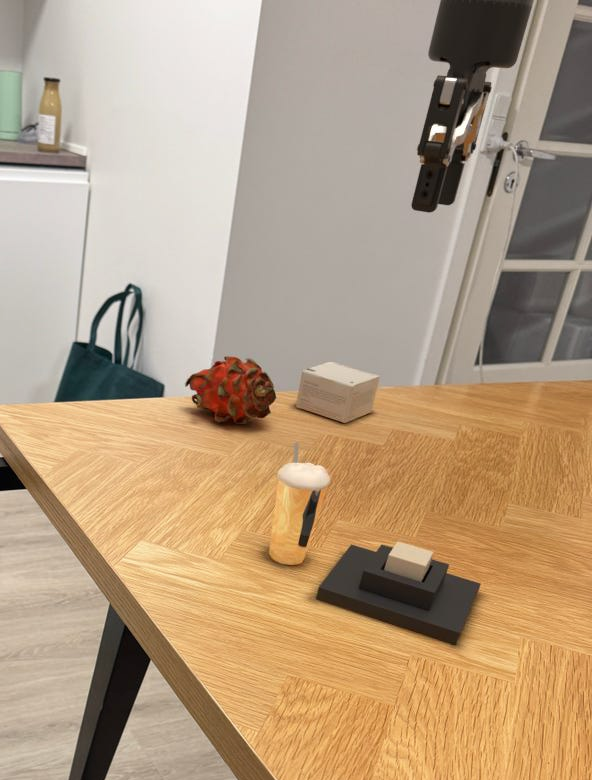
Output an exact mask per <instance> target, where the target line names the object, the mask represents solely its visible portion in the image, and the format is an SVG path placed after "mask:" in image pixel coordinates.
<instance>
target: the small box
mask: <svg viewBox="0 0 592 780" xmlns="http://www.w3.org/2000/svg"><path fill="white" fill-rule="evenodd" d="M300 376H301V377H300V383H299V387H298V392H297V398H296V404H295V407H296V408H297V409H301V410H304V411H307V412H309V413H313V414H316V415H320V416H321V417H325V418H328V419H331V420H334V421H338V422H341V423H343V424H346V423H349V422H351V421H354V420H356V419H359V418H361V417H363V416H365V415H368V414H370V413H372V411H373V408H374V403H375V399H376V394H377V390H378V386H379V383H380V382H379V381H380V377H381V376H380V375H378V374H374V373H370V372H367V371H363V370H361V369H357V368H354V367H350V366H346V365H343V364H339V363H337V362H333V361H328V362H324V363H322V364H321V363H320V364H318V365H316V366H312V367H309V368H305V369H303V370H302V372H301V375H300Z"/></svg>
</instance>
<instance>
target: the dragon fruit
mask: <svg viewBox="0 0 592 780" xmlns="http://www.w3.org/2000/svg"><path fill="white" fill-rule="evenodd" d="M223 359H224V361H223V360H222V361H221V360H217V361H215V362H214V364H213V365H212V366H211V367H210V368H208V369H207V368H206V369H201V370H200V371H198V372H196V373H192V374H191V375H190V376H189V377H188V378H187V379H186V380H185V383H184V384H183V385H184V387H185V388H187V387H188V386H189V389H190V391H194V392H196V393H195V394H192V395H191V401H192V403H193V404H194V405H195V406H196V408H198V409H200V410H205V411H208V412H210V413H211V415H212V416H214V420H215V421H216V422H217V423H218V424H221V423H223V422H228V420H229V419H232V420H233V422H234V423H235V425H247V424H248V423H249V418H250V419H255V418H257V419H266V417H267V416H269V415H270V414H271V413H272V412H271V408H270V406H271V405H272V404H273V403H274V402H275V401H276V399H277V395H276V391H275V389H274V388H275V386H274V383H273V381H272V379H271V377H270V375H269V374H268V373H267V372H266V371H263V369H262V367H261V366H260V365H259V364H258V363H257V362H256V361H255V360H254V359H253V358H249V357H246V358H245V362H243V361H242V360H241V358H239V357H236V356H229V355H226V356H223Z"/></svg>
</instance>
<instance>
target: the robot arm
mask: <svg viewBox="0 0 592 780" xmlns="http://www.w3.org/2000/svg"><path fill="white" fill-rule="evenodd" d="M534 2H535V0H439V5H438V10H437V14H436V18H435V23H434V26H433V30H432V35H431V39H430V43H429V47H428V53H427V56H428V58H429V60H431V61H432V62H437V63H445V64H449V68H448V70H447V73H446V75H440V74H439V75H437V76H436V78H435V80H434V82H433V84H432V85H433V89H432V93H431V95H430V96H431V97H430V99H429V100H430V101H429V105H428V108H427V113H426V117H425V121H424V124H423V128H422V131H421V132H422V133H421V135H420V139H419V143H418V144H417V148H416V151H417V152H416V153H417V156H418V157H419V163H420V167H419V168H420V169H419V171H418V176H417V181H416V184H415V189H414V192H413V196H412V201H411V209H412V210H413V211H416V212H421V213H422V212H423V213H428V214H429V213H434V212H435V211H436V210H437V208H438V207H439V206H438V205H443V206H451V205H453V204H454V203H455V202H456V198H457V194H458V190H459V187H460V183H461V180H462V176H463V173H464V168H465V166H466V163H467V162H468V160H469V159H470V158H471V156H472V155H473V153H474V151H476V148H477V141H478V136H479V133H480V129H481V125H482V122H483V118H484V114H485V111H486V107H487V103H488V99H489V96H490V93H491V92H492V82H491V81H486V78H487V72H488V70H490V69H491V68H497V69H511V68H512V67H514V66H515V65H516V63H517V61H518V58H519V54H520V51H521V47H522V44H523V40H524V36H525V33H526V30H527V26H528V22H529V20H530V16H531V13H532V9H533V5H534Z"/></svg>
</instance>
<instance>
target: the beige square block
mask: <svg viewBox="0 0 592 780" xmlns="http://www.w3.org/2000/svg"><path fill="white" fill-rule="evenodd" d="M392 547H393V549H392V550H391V552H390V554H389V555H388V558H387V562H386V565H385V569H384V571H388V572H391V573H394V574H397V575H401V576H404V577H407V578H410V579H413V580H417V581H420V582H422V580H423V578H424V576H425V574H426V572H427V571H428V569H429V566H430V563H431V559H433V556H434V551H432V550H428V549H427V548H426V549H425V548H422V547H419V546H416V545H412V544H409V543H405V542H401V541H396V543H395V544H394V546H392Z"/></svg>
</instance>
